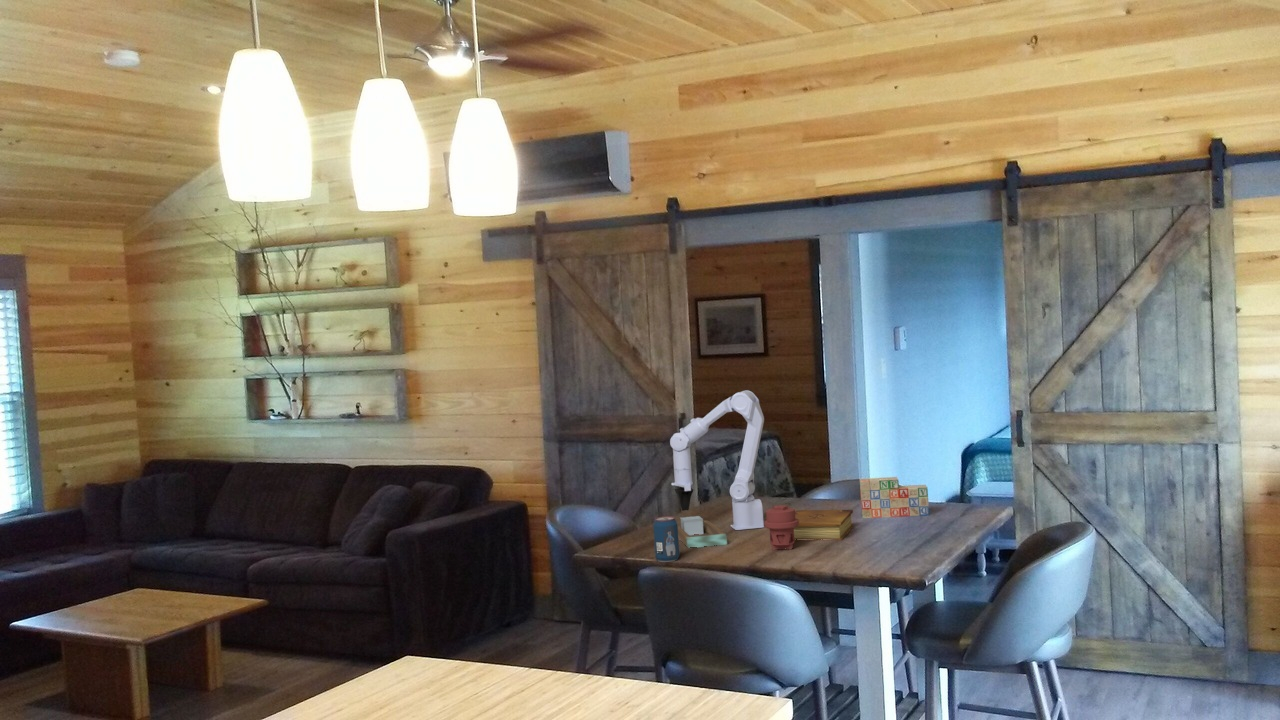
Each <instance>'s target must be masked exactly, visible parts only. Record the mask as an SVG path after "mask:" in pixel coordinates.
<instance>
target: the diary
mask: <svg viewBox="0 0 1280 720" xmlns="http://www.w3.org/2000/svg"><path fill="white" fill-rule="evenodd" d="M853 513H854V509H808V510H807V509H803V510H802V509H800V510H799V509H797V510H796V509H795V518H796V519H798V520H799V525H798V526H797V527H794V539H814V540H813V541H824V540H823V539H834V540H833V541H843V539H844V538H845V537H846V536H847V535H848V533H849V532H850V531H851V530H852V529H853V528H854V524H853V523H852V515H853ZM851 528H852V529H851ZM850 529H851V530H850ZM846 534H847V535H846ZM845 535H846V536H845ZM844 536H845V537H844ZM843 537H844V538H843ZM815 539H816V540H815ZM817 539H818V540H817ZM819 539H820V540H819ZM821 539H822V540H821ZM835 539H836V540H835ZM837 539H838V540H837Z"/></svg>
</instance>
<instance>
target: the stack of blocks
mask: <svg viewBox="0 0 1280 720" xmlns="http://www.w3.org/2000/svg"><path fill="white" fill-rule="evenodd" d="M899 483H900V482H899V478H898V477H897V476H891V477H874V478H873V477H872V478H871V477H870V478H859V486H860V488H859V494H860V495H859V496H860V504H861V518H862V519H873V518H874V519H876V518H877V519H878V518H898V517H899V518H900V517H922V516H926V517H927V516H930V508H929V507H930V506H929V505H930V503H929V492H928V486H927V485H926V484H913V485H911V484H910V485H909V484H908V485H900V484H899Z"/></svg>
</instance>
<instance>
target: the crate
mask: <svg viewBox="0 0 1280 720" xmlns="http://www.w3.org/2000/svg"><path fill="white" fill-rule="evenodd" d="M679 518H680V519H679V520H680V527H681V528H682V529H683V530H684V531H685V532H686V533H687V534H688V535H690V536H695V535H694V534H699V535H704V530H703V521H704V518H702V517H701V516H700V515H695V516H693V515H691V516H683V517H681V516H680V517H679Z"/></svg>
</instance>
